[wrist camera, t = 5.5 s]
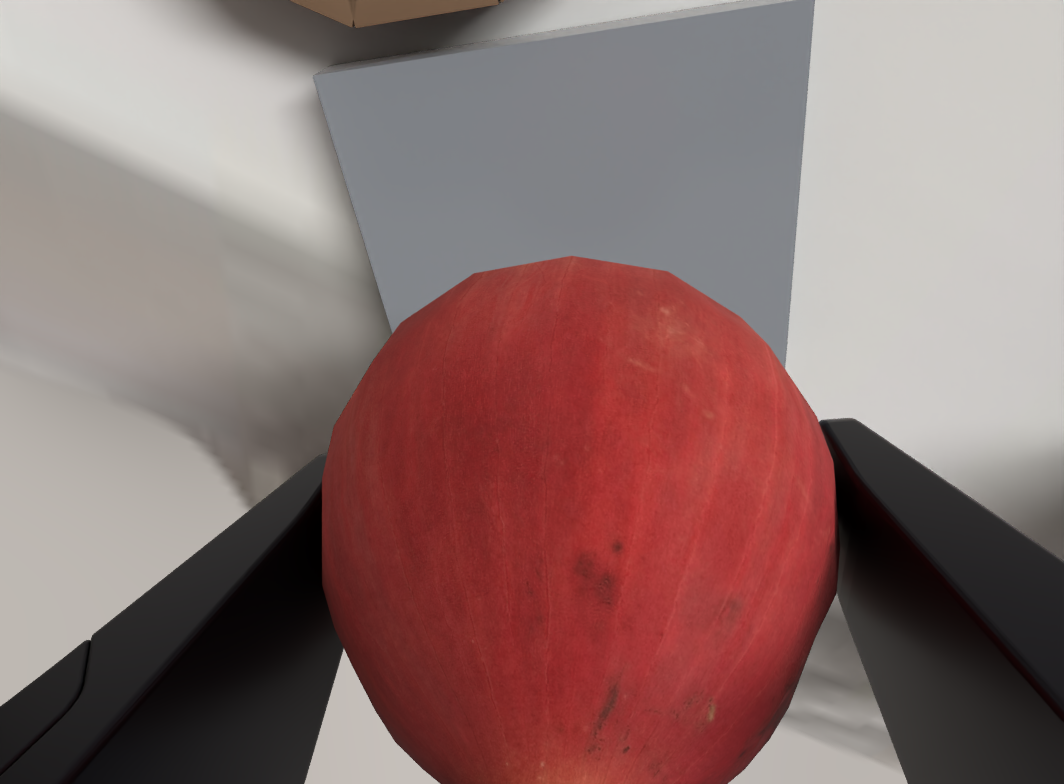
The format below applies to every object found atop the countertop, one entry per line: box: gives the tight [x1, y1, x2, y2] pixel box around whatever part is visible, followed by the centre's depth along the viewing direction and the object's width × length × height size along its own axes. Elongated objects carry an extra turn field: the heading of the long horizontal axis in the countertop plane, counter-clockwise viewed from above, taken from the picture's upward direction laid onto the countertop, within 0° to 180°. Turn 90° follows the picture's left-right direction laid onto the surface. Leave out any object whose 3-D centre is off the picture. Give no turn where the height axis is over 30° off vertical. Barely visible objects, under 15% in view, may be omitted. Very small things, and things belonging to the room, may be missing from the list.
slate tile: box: [313, 0, 815, 369], centre depth 15 cm, size 9×8×1 cm
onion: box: [322, 256, 840, 784], centre depth 8 cm, size 6×6×8 cm
